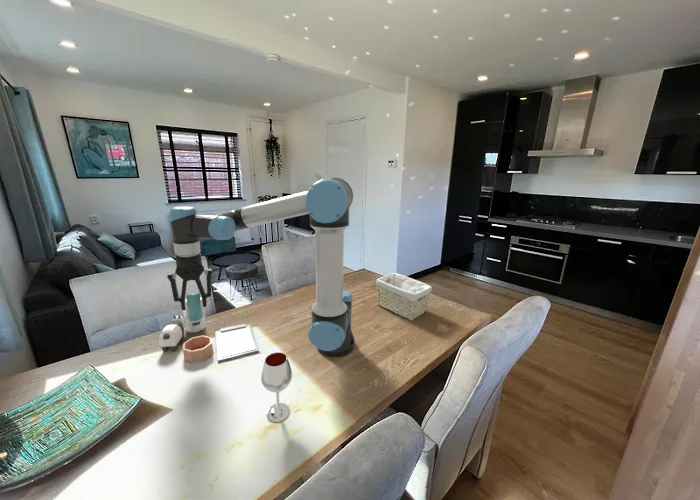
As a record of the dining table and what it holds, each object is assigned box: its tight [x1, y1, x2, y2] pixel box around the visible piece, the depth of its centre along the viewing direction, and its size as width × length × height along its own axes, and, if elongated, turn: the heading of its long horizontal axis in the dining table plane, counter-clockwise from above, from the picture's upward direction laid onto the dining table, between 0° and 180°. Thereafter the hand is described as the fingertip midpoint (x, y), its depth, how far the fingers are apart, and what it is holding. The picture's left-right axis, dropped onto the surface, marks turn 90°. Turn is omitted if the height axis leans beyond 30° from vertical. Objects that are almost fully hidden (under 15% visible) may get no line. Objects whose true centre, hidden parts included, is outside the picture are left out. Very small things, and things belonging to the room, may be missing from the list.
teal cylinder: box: [186, 292, 202, 326], centre depth 98 cm, size 4×4×11 cm
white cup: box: [182, 310, 206, 334], centre depth 117 cm, size 8×8×10 cm
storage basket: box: [375, 272, 433, 321], centre depth 141 cm, size 24×16×15 cm
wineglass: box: [260, 351, 293, 423], centre depth 77 cm, size 8×8×18 cm
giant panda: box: [158, 315, 186, 353], centre depth 108 cm, size 15×6×10 cm, turn 10°
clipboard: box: [214, 323, 260, 363], centre depth 110 cm, size 20×14×2 cm
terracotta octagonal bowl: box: [182, 334, 214, 363], centre depth 102 cm, size 9×9×4 cm
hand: (195, 316), depth 99 cm, fingers closed on teal cylinder, 4 cm apart
